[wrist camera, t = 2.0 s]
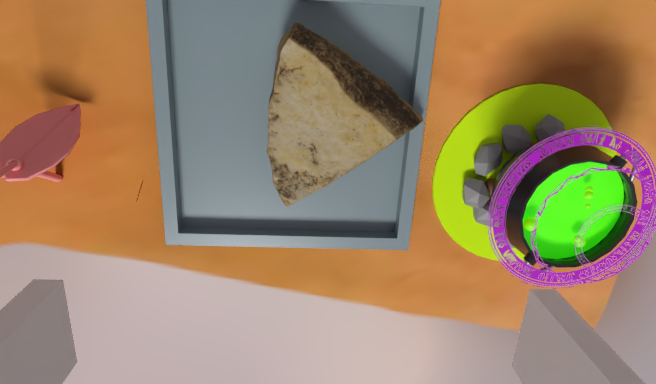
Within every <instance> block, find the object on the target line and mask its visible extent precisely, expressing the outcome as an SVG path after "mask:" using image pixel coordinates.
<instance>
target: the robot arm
mask: <svg viewBox="0 0 656 384" xmlns="http://www.w3.org/2000/svg"><path fill="white" fill-rule="evenodd" d="M76 363H77V359H76V353H75V347H74V341H73V335H72V330H71V324H70V318H69V312H68V306H67V301H66V296H65V290H64V284H63V280H35V279H34V280H33V281H32V282H31V283H29V284H28V285H27V286H26V287H25V288H24V289H23V290H22V291H21V292H20V293H19V294H17V296H15V297H14V298H13V299H12V300H11V301H10V302H9V303H8V304H7V305H6V306H5V307H4V308H2V309H1V310H0V384H62V383H63V381H64V380H65V379H66V377H67V376H68V374H69V373H70V372H71V370H72V369H73V367H74V366H75V364H76ZM512 367H513V368H514V370H515V372H516V373H517V375H518V376H519V378H520V380H521V382H522V383H523V384H645V383H644V382H643V381H642V380H641V379H640V378H639V377H638V376H637V375H636V374H635V372H634V371H633V370H632V369H631V368H630V367H629V366H628V365H627V364H626V363H625V362H624V361H623V360H622V359H621V358H620V357H619V356H618V355H617V354H616V353H615V352H614V350H613V349H612V348H611V347H610V346H609V345H608V344H607V343H606V342H605V341H604V340H603V339H602V338H601V337H600V336H599V335H598V334H597V333H596V332H595V331H594V330H593V328H592V327H591V326H590V325H589V324H588V323H587V322H586V321H585V320H584V319H583V318H582V317H581V316H580V315H579V314H578V313H577V312H576V311H575V310H574V309H573V308H572V306H571V305H570V304H569V303H568V302H567V301H566V300H565V299H564V298H563V297H562V296H561V295H560V294H559V293H558V292H557V291H556V290H542V289H530V292H529V296H528V300H527V304H526V308H525V313H524V317H523V321H522V325H521V329H520V333H519V337H518V342H517V346H516V350H515V354H514V358H513V362H512Z"/></svg>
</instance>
